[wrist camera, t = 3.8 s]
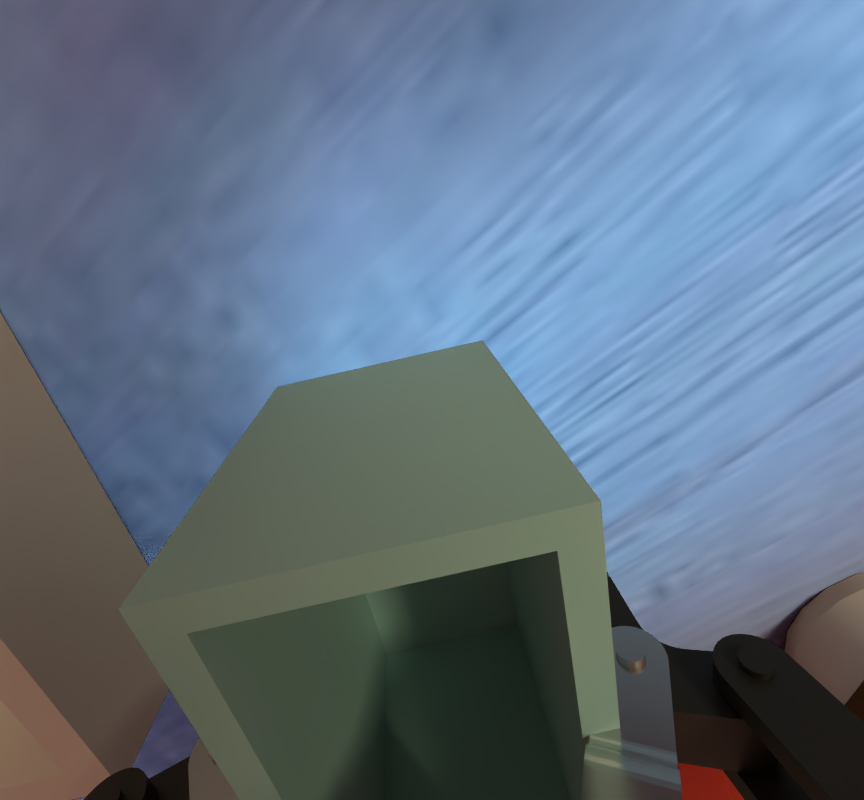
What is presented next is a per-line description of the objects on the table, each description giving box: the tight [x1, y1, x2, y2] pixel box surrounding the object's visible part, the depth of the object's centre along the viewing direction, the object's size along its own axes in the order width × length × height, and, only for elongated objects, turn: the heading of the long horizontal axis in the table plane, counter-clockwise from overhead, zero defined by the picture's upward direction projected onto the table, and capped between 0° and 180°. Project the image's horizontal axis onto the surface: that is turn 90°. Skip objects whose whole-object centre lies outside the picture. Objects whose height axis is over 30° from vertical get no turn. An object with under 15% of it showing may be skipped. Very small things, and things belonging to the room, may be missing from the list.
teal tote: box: [118, 340, 620, 800], centre depth 11 cm, size 11×6×8 cm, turn 12°
